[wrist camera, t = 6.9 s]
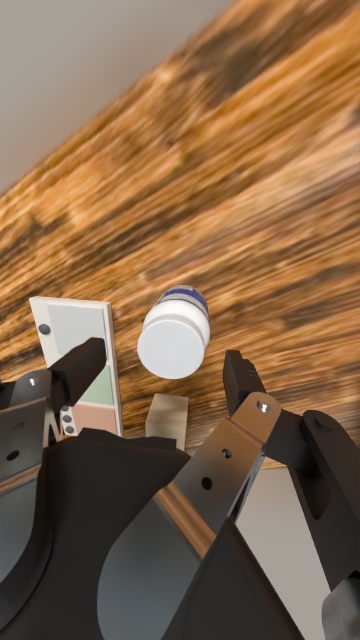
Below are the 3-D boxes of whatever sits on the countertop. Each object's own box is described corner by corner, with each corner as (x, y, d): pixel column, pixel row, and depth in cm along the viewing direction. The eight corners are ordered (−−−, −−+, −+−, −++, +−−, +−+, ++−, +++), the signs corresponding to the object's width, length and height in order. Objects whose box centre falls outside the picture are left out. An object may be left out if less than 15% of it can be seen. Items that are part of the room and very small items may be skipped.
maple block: (188, 396, 27) (185, 428, 22) (186, 421, 28) (183, 455, 24) (155, 392, 27) (145, 422, 22) (155, 417, 29) (146, 449, 24)
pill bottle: (185, 338, 23) (173, 398, 14) (150, 308, 22) (113, 351, 13) (218, 307, 21) (230, 353, 12) (181, 273, 20) (163, 293, 11)
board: (110, 302, 22) (105, 305, 21) (123, 437, 31) (120, 444, 30) (35, 296, 23) (26, 298, 22) (69, 428, 32) (64, 435, 31)
